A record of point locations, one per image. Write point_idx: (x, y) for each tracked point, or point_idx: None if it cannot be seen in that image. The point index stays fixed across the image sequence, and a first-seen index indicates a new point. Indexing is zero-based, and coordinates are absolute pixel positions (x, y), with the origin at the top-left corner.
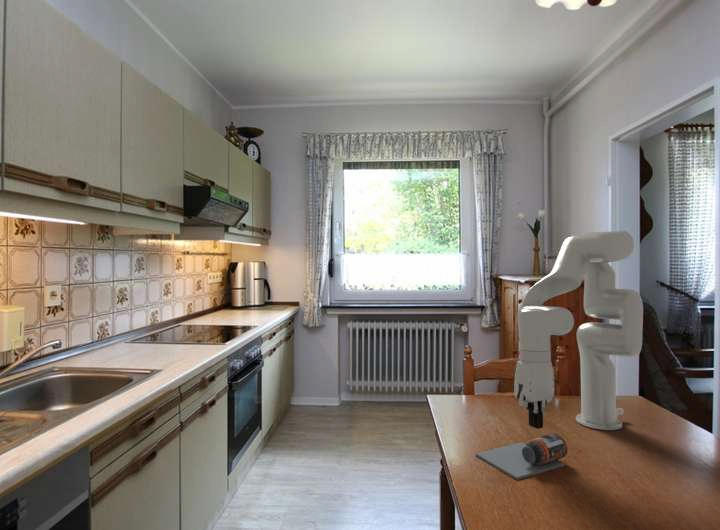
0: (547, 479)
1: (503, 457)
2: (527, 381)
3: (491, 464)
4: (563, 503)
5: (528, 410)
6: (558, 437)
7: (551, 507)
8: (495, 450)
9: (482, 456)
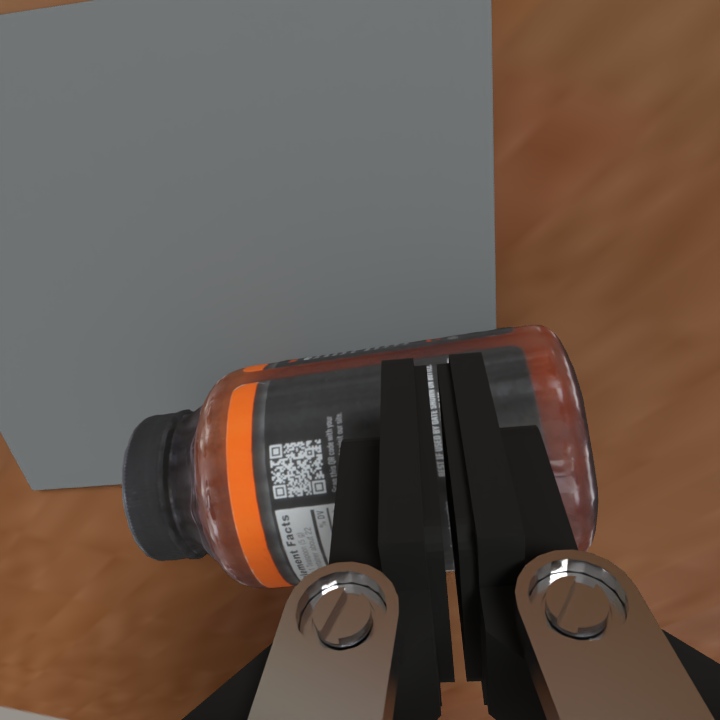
0: None
1: (64, 226)
2: None
3: None
4: (167, 662)
5: (310, 608)
6: None
7: (94, 664)
8: (44, 55)
9: None
